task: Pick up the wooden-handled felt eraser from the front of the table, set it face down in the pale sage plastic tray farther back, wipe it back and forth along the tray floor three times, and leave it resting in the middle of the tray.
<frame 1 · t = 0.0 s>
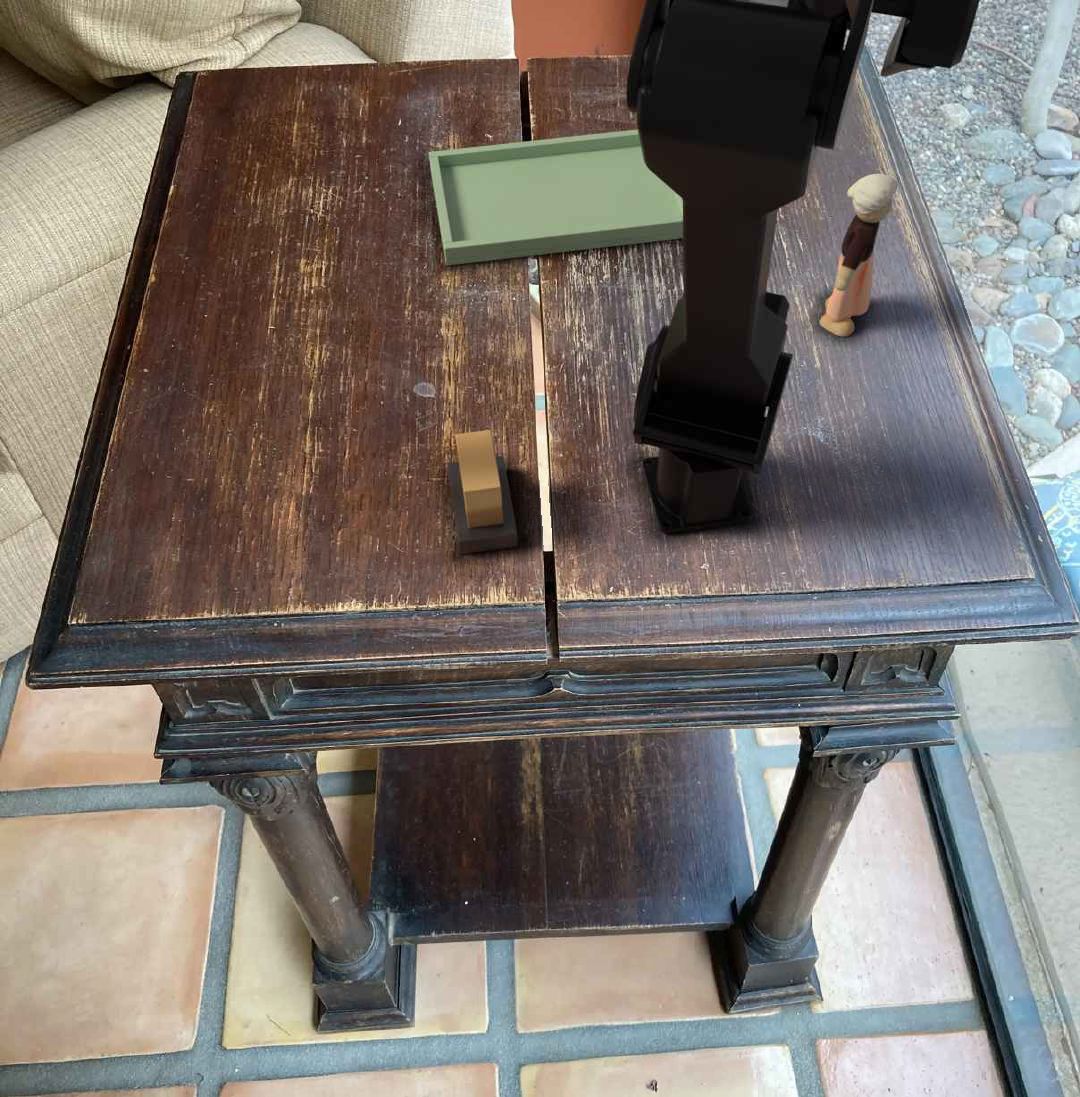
hand: (822, 59, 79), 15 cm above the table, tool tilted 35°, fingers open, 9 cm apart
tray: (559, 201, 93), on the table
grandmother figurine: (840, 314, 84), on the table
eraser: (482, 510, 73), on the table
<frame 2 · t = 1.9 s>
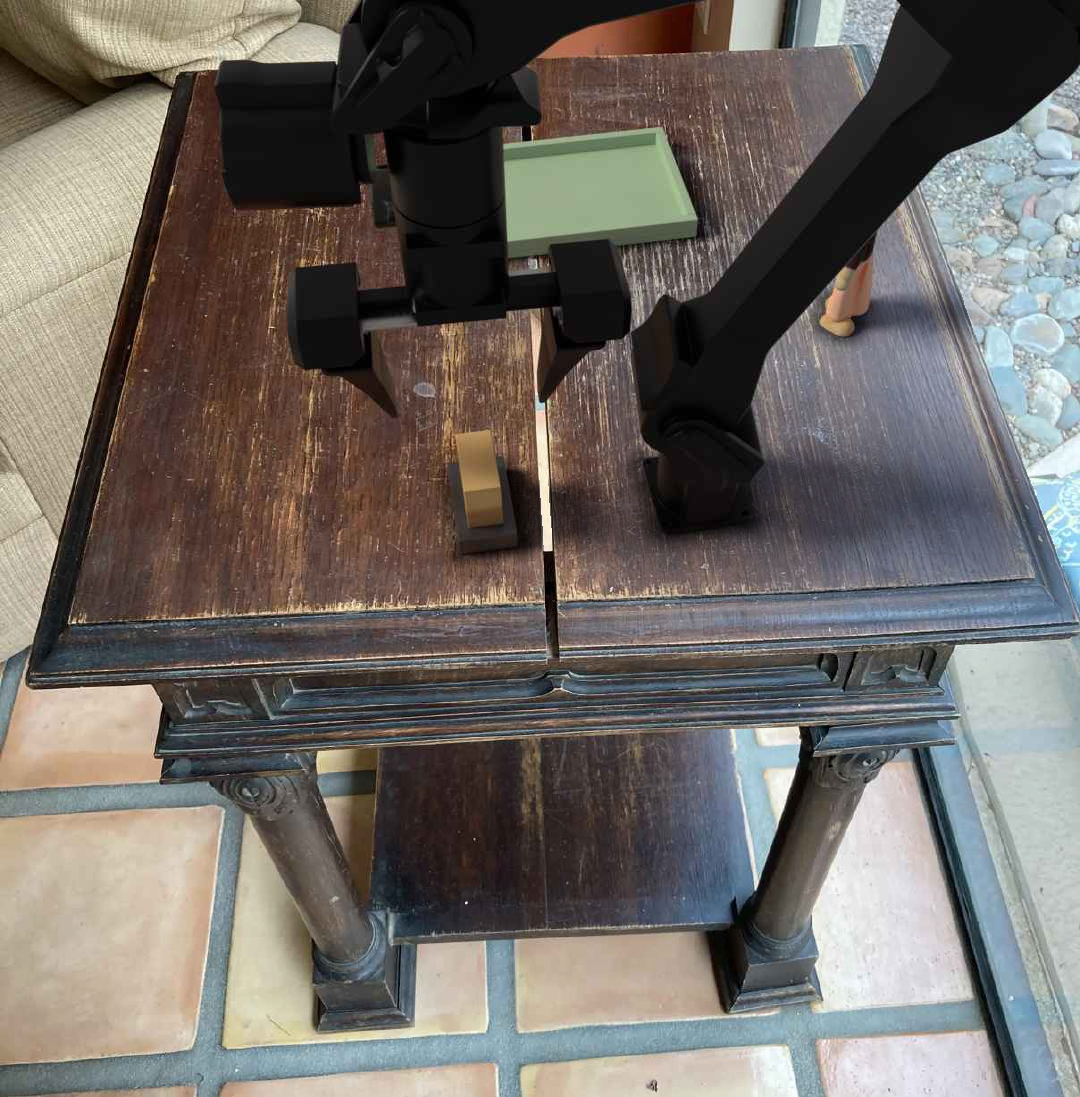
hand: (468, 405, 66), 10 cm above the table, tool pointing down, fingers open, 9 cm apart
nothing on the table moved.
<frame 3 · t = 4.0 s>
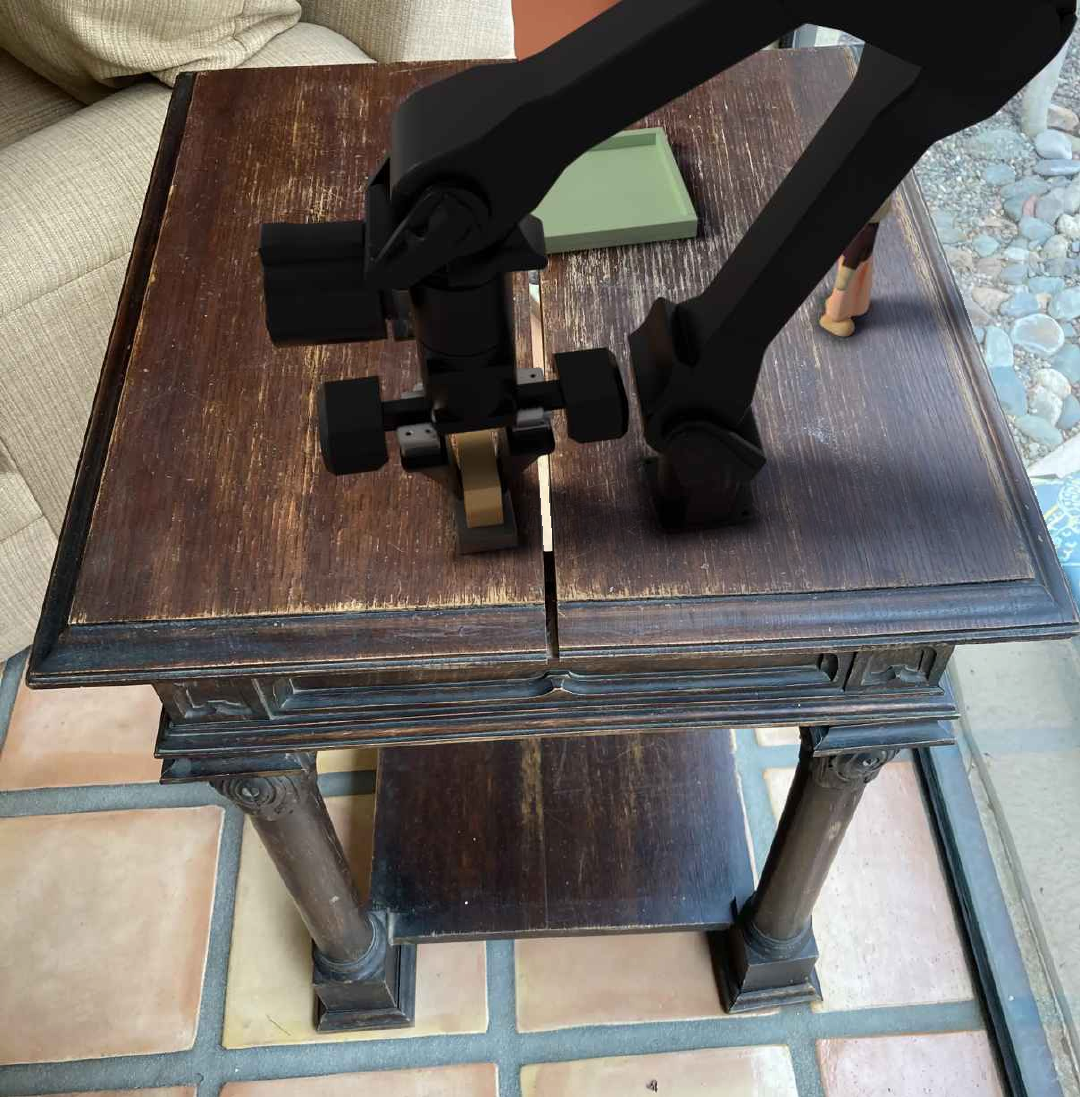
hand: (481, 492, 72), 2 cm above the table, tool pointing down, fingers closed on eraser, 2 cm apart
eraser: (482, 510, 73), on the table, touching gripper
everything else where it was.
when the fingers open (2 cm above the table, at t = 19.1 s): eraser stays where it is, resting on tray.
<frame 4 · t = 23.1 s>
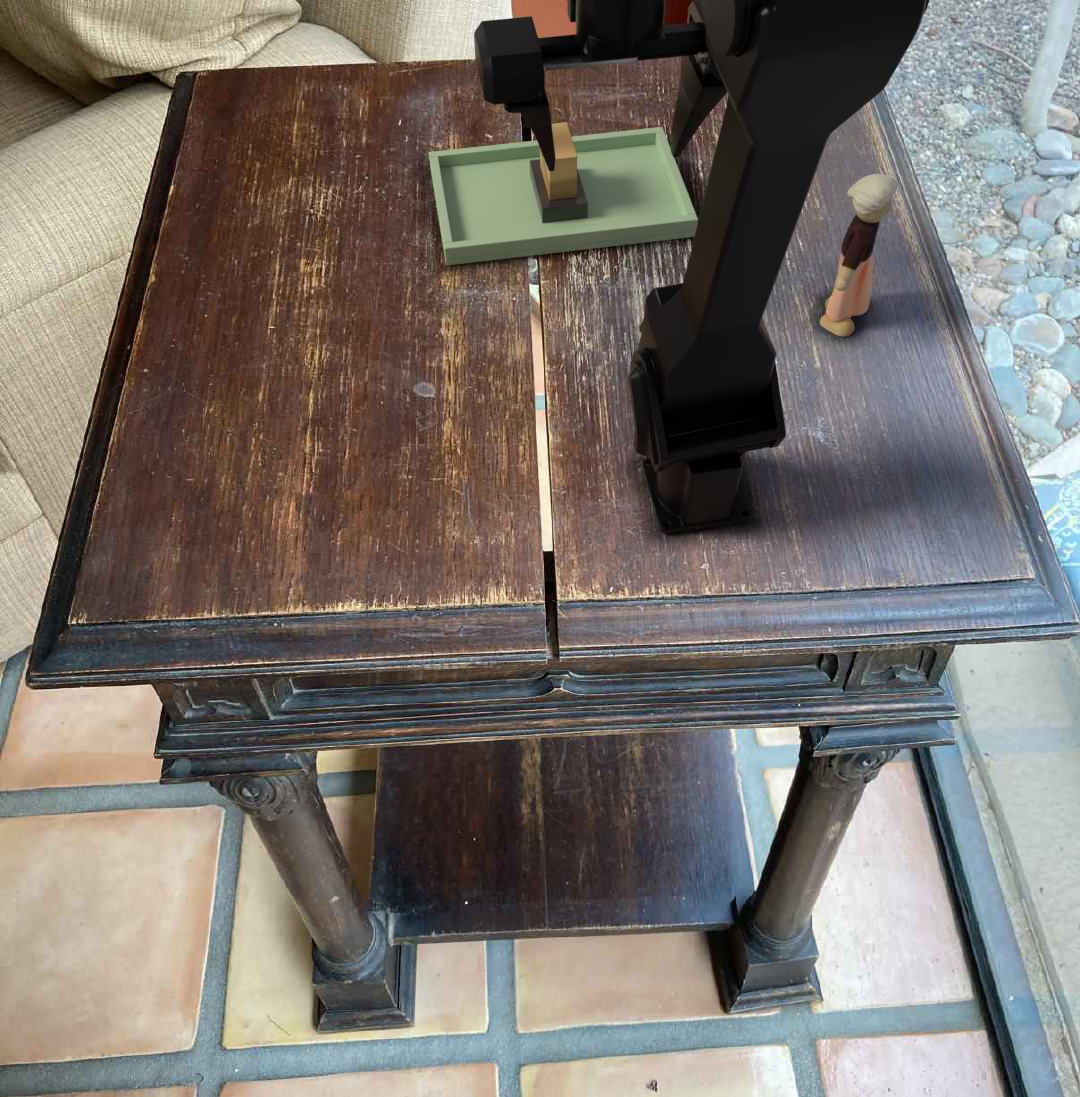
hand: (612, 161, 77), 12 cm above the table, tool pointing down, fingers open, 9 cm apart
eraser: (558, 196, 93), point 1 cm above the table, touching tray
everything else where it was.
at the end: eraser inside the target area in the tray (0.1 cm from its centre), point 0.6 cm above the tray's base; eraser tilted 0°; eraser moved 34.8 cm from its start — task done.
